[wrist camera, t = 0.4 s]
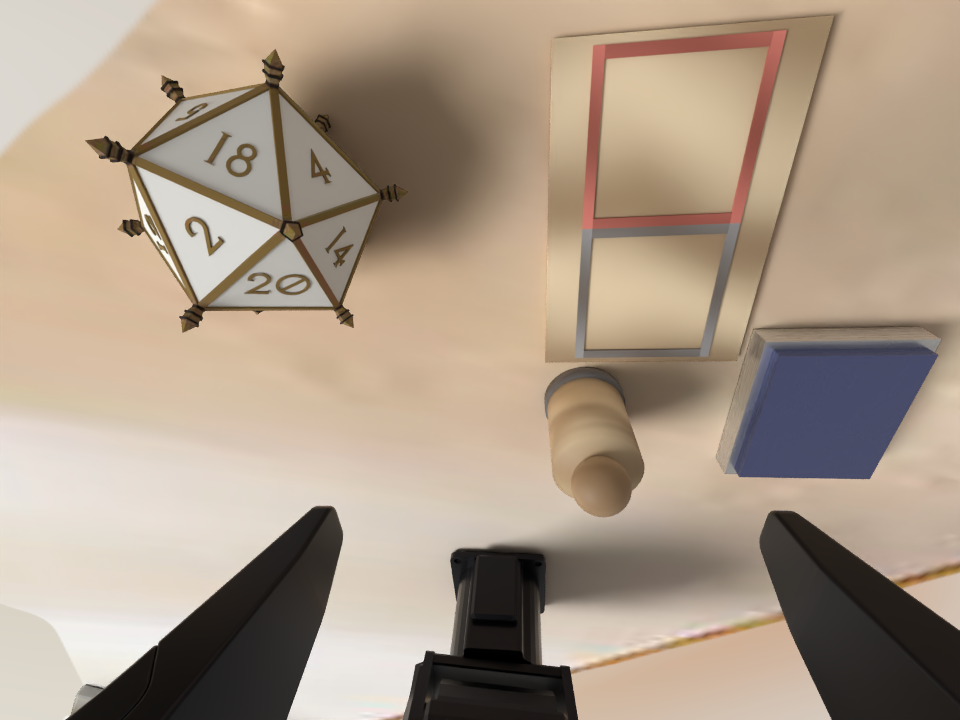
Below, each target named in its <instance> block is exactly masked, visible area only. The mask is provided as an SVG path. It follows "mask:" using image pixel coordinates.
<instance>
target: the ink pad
mask: <svg viewBox="0 0 960 720" xmlns="http://www.w3.org/2000/svg"><path fill="white" fill-rule="evenodd" d="M941 340H942V339H940V338H938V337H937V336H935V335H933V334H931V333H930V332H928V331H926V330H924V329H923V328H921V327H868V328H807V329H753V333H752V336H751V340H750V343H749V346H748V350H747V353H746V357H745V360H744V364H743V367H742V370H741V374H740V377H739V381H738V384H737V388H736V391H735V394H734V398H733V401H732V405H731V408H730V412H729V415H728V418H727V422H726V425H725V429H724V432H723V436H722V439H721V442H720V446H719V449H718V453H717V456H716V459H717V461H718V463H719V465H720V466H721V468H722V470H723V472H724V474H738V476H739V477H773V478H836V479H870V478H871V476H872V474H873V472H874V470H875V469H876V467H877V465H878V463H879V461H880V460H881V458H882V456H883V454H884V452H885V450H886V449H887V447H888V445H889V443H890V441H891V440H892V438H893V436H894V434H895V432H896V431H897V429H898V427H899V425H900V423H901V422H902V420H903V418H904V416H905V414H906V412H907V411H908V409H909V407H910V405H911V403H912V402H913V400H914V398H915V396H916V394H917V393H918V391H919V389H920V387H921V385H922V384H923V382H924V380H925V378H926V376H927V375H928V373H929V371H930V369H931V367H932V365H933V364H934V362H935V360H936V358H937V356H938V354H936V353H935V351H936V349H937V347H938V345H939V343H940V342H941Z"/></svg>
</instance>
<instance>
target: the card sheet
mask: <svg viewBox="0 0 960 720" xmlns="http://www.w3.org/2000/svg"><path fill="white" fill-rule="evenodd" d="M833 18H834V15H830V16H818V17H806V18H794V19H782V20H770V21H758V22H746V23H734V24H722V25H710V26H698V27H686V28H674V29H662V30H650V31H638V32H626V33H614V34H602V35H590V36H578V37H566V38H554V39H552V41H551V93H550V145H549V196H548V248H547V300H546V352H545V361H546V362H647V361H737V359H738V355H739V352H740V348H741V345H742V341H743V338H744V334H745V330H746V327H747V323H748V320H749V316H750V313H751V309H752V306H753V302H754V298H755V295H756V291H757V288H758V284H759V281H760V277H761V274H762V270H763V267H764V263H765V259H766V256H767V252H768V249H769V245H770V242H771V238H772V235H773V231H774V227H775V224H776V220H777V217H778V213H779V210H780V206H781V203H782V199H783V196H784V192H785V188H786V185H787V181H788V178H789V174H790V171H791V167H792V164H793V160H794V156H795V153H796V149H797V146H798V142H799V139H800V135H801V132H802V128H803V125H804V121H805V117H806V114H807V110H808V107H809V103H810V100H811V96H812V93H813V89H814V85H815V82H816V78H817V75H818V71H819V68H820V64H821V61H822V57H823V54H824V50H825V46H826V43H827V39H828V36H829V32H830V29H831V25H832V22H833Z"/></svg>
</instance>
